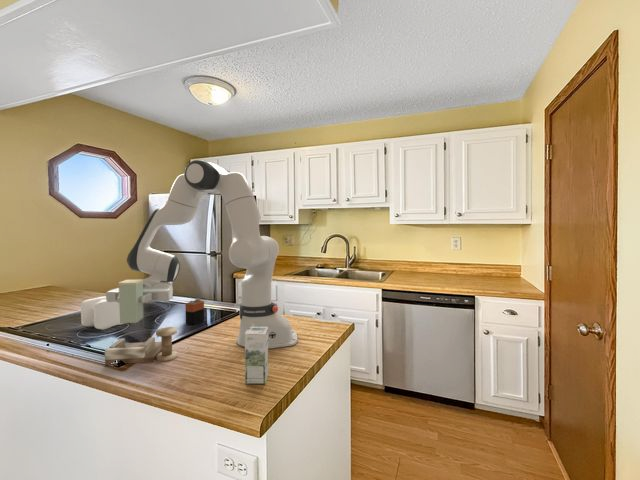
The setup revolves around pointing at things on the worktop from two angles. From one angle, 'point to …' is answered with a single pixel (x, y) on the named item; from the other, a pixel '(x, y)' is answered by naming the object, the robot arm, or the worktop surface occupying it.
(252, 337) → the syrup box
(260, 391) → the worktop surface
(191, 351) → the worktop surface
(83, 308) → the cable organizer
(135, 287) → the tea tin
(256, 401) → the worktop surface
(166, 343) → the bobbin
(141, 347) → the winding board
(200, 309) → the battery
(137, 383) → the worktop surface
